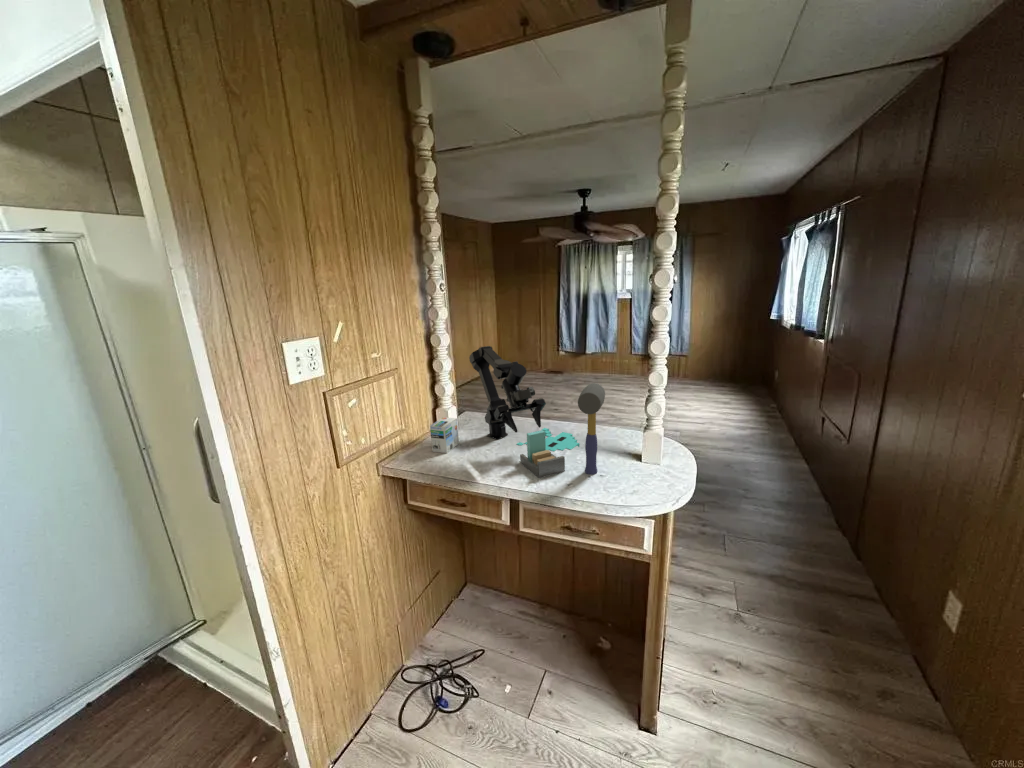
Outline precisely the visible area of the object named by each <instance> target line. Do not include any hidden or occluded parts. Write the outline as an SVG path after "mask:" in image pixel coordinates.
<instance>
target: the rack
mask: <svg viewBox="0 0 1024 768" xmlns="http://www.w3.org/2000/svg"><path fill="white" fill-rule="evenodd" d="M551 456H554V457H555V458H553V459H549V460H545V461H541V462H537V465H536V464H535V463H534V462H532V461H531V460H530V459H529V458H528V456H526V455H525V454H523V453H521V454H519V457H520V458H519V459H520V460H519V461H518V463H519V464H521V465H522V466H523V467H524V468H525V469H527V470H528V471H529V472H530V473H532V474H533V475H534V476H535V478H537V479H541V478H545V477H549V476H552V475H556V474H560V473H564V472H566V467H565V465H566V461H565V459H566V458H565V456H564V455H560V456H556V455H555V454H553V453H551Z"/></svg>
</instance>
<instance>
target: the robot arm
mask: <svg viewBox="0 0 1024 768" xmlns="http://www.w3.org/2000/svg"><path fill="white" fill-rule="evenodd" d="M468 358H469V362H470V364H471V366H472V368H473V369H474V371H476V372H477V373H478V375H479V378H480V380H481V383H482V386H483V390H484V392H485V395H486V399H487V402H488V403H487V407H486V414H485V415H484V421H485V423H486V424H488V425H489V426H488V427H489V428H488V429H489V433H488V434H486V436H487V437H489V438H491V439H492V438H493V439H495V438H496V440H499V438H500V439H502V438H504V437H506V436H508V435H509V433H507V432H506V431H507V430H506V425H507V426H508V427H509V428H510V429H511V430H512V431H514V433H518V432H519V431H518V428H517V425H516V423H515V421H514V419H513V416H512V415H513V413H517V412H523V411H527V410H530V412H532V413H531V416H532V418H533V420H534V422H535V423H536V426H537V427H538V428H541V427H542V421H541V412H542V410H543V409H544V408H545V407H546V405H547V402H546V400H545V399H544V398H543V397H540V398H533V397H534V396H536V390H535V388H534V387H533V386H529V387H527V388H526V389H521V386H520V384H522V382H523V380H524V378H525V377H526V374H527V368H526V367H525V366H524V365H522V364H520V363H519V362H518V361H509V360H506V359H503V358H502V357H501V356H499V354H497V352H496V351H495V350H494V349H493V347H492V346H491V345H486V346H480V347H479V348H478V349H476V350H474V351H472V352H471V353H470V355H469V357H468ZM490 366H491V367H492V369H493V371H492V372H491V370H490ZM492 373H493V375H494V377H495V378H496V379H497V380H502V379H503V381H502V382H501V387H500V389H502V390H503V391H504V393H505V395H506V399H505V398H501V397H500V396H499V393H498V390H497V388H496V384H495V382H494V379H493V375H492ZM532 398H533V400H532V402H531V403H529V401H530V399H532ZM506 402H507V403H509V405H508V404H507V403H506ZM509 406H510V407H509ZM503 436H504V437H503ZM501 437H502V438H501Z"/></svg>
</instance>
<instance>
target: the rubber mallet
mask: <svg viewBox="0 0 1024 768" xmlns="http://www.w3.org/2000/svg"><path fill="white" fill-rule="evenodd" d="M605 397H606V390H605V389H604V387H603V386H602V385H601V384H599V383H595V382H594V383H589V384H588V385H586V386H585V387H584V388H583V389H582V391H581V392H580V394H579V396H578V399H577V406H578V407H577V408H579V411H581V413H584V414H585V415H586V414H587V433H586V436H585V445H584V447H585V468H584V473H585V474H586V475H592V476H593V475H597V473H598V467H597V453H598V435H597V413H598V412H599V411H600V409H601V408H602V407H603V404H604V402H605V399H606V398H605Z"/></svg>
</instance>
